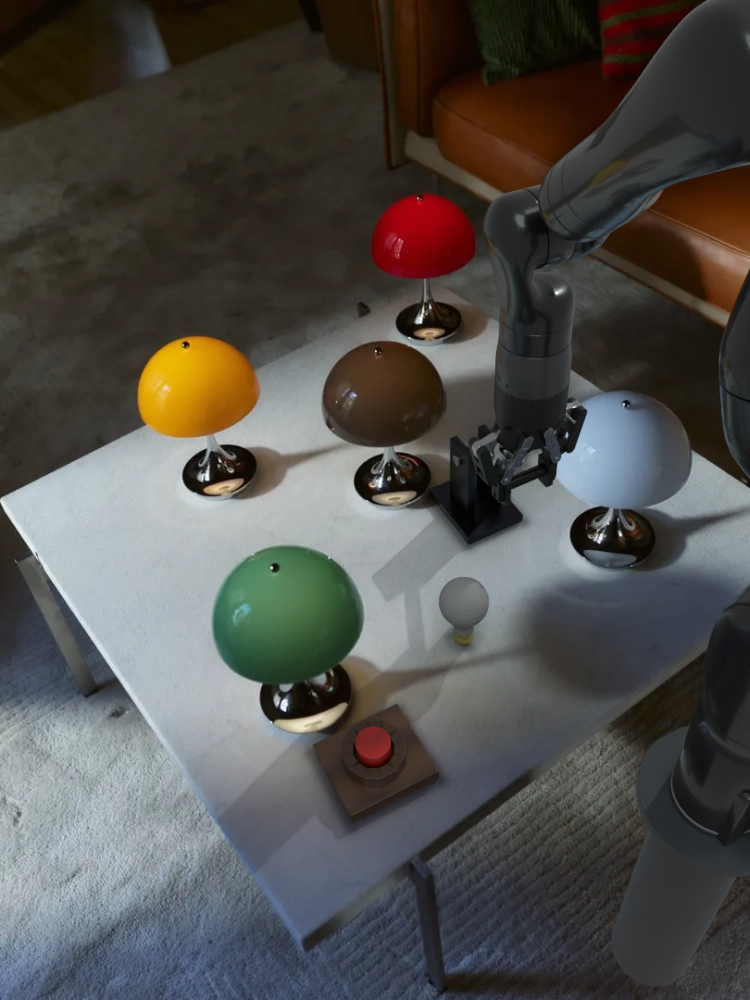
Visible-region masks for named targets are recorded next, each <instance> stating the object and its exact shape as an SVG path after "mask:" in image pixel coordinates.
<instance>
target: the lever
mask: <svg viewBox="0 0 750 1000" xmlns="http://www.w3.org/2000/svg"><path fill="white" fill-rule="evenodd" d="M477 438H478V437H477ZM478 439H479V438H478ZM479 440H481V439H479ZM468 441H469V440H467V441H465V442H463V443H464V444H465V445H466V446H467V448H468V449H469V446H468ZM469 450H470V449H469ZM493 460H494V458H492V462H493ZM502 468H503V469H504V468H505V465H504V463H503V466H502ZM546 474H547V470H546V467H545V466H544V465H543V464H538V463H537V465H534V466H532V467H529V468H527V469H524V468H521V467H520V468H516V469H515V471H514V474H513V476H512V478H511V482H512V487H511V491H513V490H515V489H517V488H519V487H522V486H525V485H526V484H528V483H531V482H534V481H536V480H539V479H538V478H540V477H543V476H545V475H546Z"/></svg>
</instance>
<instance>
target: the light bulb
mask: <svg viewBox="0 0 750 1000" xmlns="http://www.w3.org/2000/svg"><path fill="white" fill-rule="evenodd" d="M487 591H488V590H486V588H485V586H484V585H483V584H482V583H481V582H480V581H479V580H477V579H475V578H474V577H473V578H472V577H470V576H459V577H454V578H452V579H450V580H449V581H447V583H445V585H444V586H443V587H442V589H441V590H440V593H439V596H438V606H439V611H440V613H441V616H442V617H443V618H444V620H446V622H448V623H449V624H450V625H452V628H453V632H454V636H453V637H454V640H455V641H456V643H458V644H459V645H469V643H471V642H472V641H473V639H474V635H473V634H474V627H475V626H476V625H479V624H480V623H481V622H482V621H483V620H484V619H485V618H486V615H487V613H488V610H489V606H490V597H489V593H488V592H487Z"/></svg>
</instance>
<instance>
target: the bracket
mask: <svg viewBox="0 0 750 1000" xmlns="http://www.w3.org/2000/svg"><path fill="white" fill-rule="evenodd" d="M491 430H492V429H491V428H490V427H488V426H487V424H486V423H483V424H481V425H479V426H477V438H479V439H483V438H484V437H486V436H487V435H489V434H491ZM464 443H465V442H463V441H462V439H461V438H460V437H459V436H458V435H454V436H452V437H450V438H449V480H447V481H445V482H443V483H441V484H438V485H435V486H433V487H430V488H429V489H428V493H429V497H430V498H431V499H432V500H433V502H434V503H435V504H436V505H437V507H438V508H439V509H440V510H441V512H442V513H443V515H445V516H446V518H447V520H448V521H449V522H450V523H451V524H452V526H453V527H454V528H455V529H456V531H457V532H458V534H459V535H460V536H461V537H462V538H463V540H464V541H465V542H466V544H468V545H472V544H474V543H476V542H478V541H481V540H482V539H485V538H487V537H489V536H492V535H494V534H496V533H499V532H501V531H502V530H505V529H507V528H510V527H512V526H514V525H516V524H519V523H521V522H523V520H524V519H523V518H524V515H523V513H522V512H521V511H520V509H519V508H518V507H517V506H516V505H515V504H514V503H513V501H511V503H510V504H508V505H505V506H504V505H503V504H502V503H499V502H498V501H497V500H496V498H495V497H494V496H493V495H492V487H489V486H488V485H487V484H486V483H485V482H484V480H483V479H482V478H481V477H480V476H479V475H478V474H477V472H476V469H475V466H474V463H473V459H472V456H471V452H470V450H469V449H468V448H467V446H466V445H465V444H464ZM494 449H495V447H494ZM493 454H494V455H495V453H494V452H493Z"/></svg>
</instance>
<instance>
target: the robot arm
mask: <svg viewBox="0 0 750 1000" xmlns="http://www.w3.org/2000/svg"><path fill="white" fill-rule="evenodd" d="M743 166H750V0H705V1H703V2H702V3H701V4H699V5H697V6H696V7H694V8H693V9H692V10H691V11H690V12H689V13H688V14H686V15H685V17H684V18H682V20H681V21H680V22H679V23H678V24H677V25H676V26H675V28H673V30H672V31H671V32H670V33H669V35H668V36H667V37H666V39H665V40H664V41H663V43H662V44H661V45H660V47H659V48H658V50H657V51H656V52H655V54H654V55H653V57H652V58H651V60H650V61H649V63H647V65H646V67H645V68H644V70H643V71H642V72H641V74H640V76H638V78H637V80H636V81H635V83H634V84H633V85H632V87H631V88H630V89H629V91H628V92H627V93H626V94H625V96H624V97H623V98H622V100H621V101H620V102H619V104H618V105H617V106H616V108H615V109H614V110H613V112H612V113H611V114H610V115H609V116H608V118H606V120H605V121H603V122H602V123H601V124H600V126H598V127H597V128H596V129H594V131H592V133H590V134H589V135H588V136H587V137H585V138H584V139H583V140H581V141H580V142H579V143H578V144H577V145H575V146H574V147H573V148H572V149H571V150H569V151H568V152H567V153H566V154H565V155H563V156H562V157H561V158H560V159H559V160H558V161H556V163H555V164H553V166H552V167H551V168H550V169H549V170H548V171H547V172H546V174H545V176H544V178H543V179H542V181H541V183H540V184H536V185H533V186H532V185H531V186H528V187H524V188H521V189H516V190H512V191H508V192H506V193H503V194H501V195H498V196H497V197H496V198H494V200H492V202H491V203H490V204H489V206H488V207H487V209H486V211H485V214H484V217H483V222H482V229H481V230H482V238H483V242H484V246H485V250H486V253H487V256H488V259H489V262H490V265H491V268H492V272H493V277H494V281H495V285H496V289H497V295H498V302H499V315H498V317H499V318H498V339H497V345H496V348H495V358H494V363H495V364H494V381H493V382H494V385H493V410H494V416H495V421H494V423H493V425H492V428H491V429H490V430H491V434H489V435H487V436H486V437H484V438H483V439H481V440H479V439H478V436H472V437H471V438H469V439H468V440H467V441H468V446H469V449H470V452H471V456H472V459H473V463H474V466H475V470H476V472H477V474H478V475H479V476H480V477H481V478H482V479H483V480H484V482H485V483H486V484H487V485H488V486H489V487H492V495H493V496H494V497H495V498H496V500H497V501H498V502H499V503H502V504H503V505H504V506H505V505H508V504H510V503H511V502H512V490H511V487H512V482H511V478H512V476H513V474H514V471H515V469H516V468H521V466H522V461H523V459H524V460H525V457H526V455H528V454H529V453H531V452H532V451H536V450H540V451H541V452H540V453H538V455H537V465H538V464H543V465H544V466H545V467H546V470H547V474H546V475H545V476H543V477H540V478H538V479H537V480H538V481H539V482H540V483H541V485H543V486H544V487H545V488H549V487H551V486H553V485H554V480H555V479H556V477H557V473H558V463H559V462H560V461H561V460H562V455H564V454H565V453H566V454H571V453H573V452H574V451H575V449H576V448H577V447H576V446H577V444H578V441H579V438H580V436H581V432H582V429H583V426H584V424H585V421H586V417H587V415H588V409H586V407H584V405H583V404H582V403H580V402H579V401H578V400H577V399H576V398H575V397H573V396H570V397H569V388H570V381H571V371H572V361H573V360H572V359H573V350H572V349H573V347H572V336H573V325H574V317H575V309H576V294H575V290H574V288H573V285H572V284H571V282H569V280H568V279H566V278H565V277H563V276H562V275H560V274H557V273H553V272H550V271H542V270H541V271H539V270H540V269H545V268H548V267H551V266H552V267H553V266H555V265H559V264H562V263H566V262H570V261H573V260H576V259H579V258H582V257H585V256H587V255H589V254H591V253H593V252H595V251H597V250H599V248H601V247H602V246H603V244H604V243H605V241H606V240H607V239H608V238H609V236H610V235H611V233H614V232H615V231H617V230H618V229H621V228H622V227H623V226H625V225H627V224H628V223H630V222H632V221H634V220H635V219H636V218H638V217H640V216H641V215H642V214H644V213H645V212H646V211H647V210H649V209H650V208H651V207H652V206H653V205H654V204H655V203H656V202H657V200H658V199H659V198H660V196H661V195H662V194H663V192H664V190H665V189H666V188H668V187H671V186H673V185H675V184H678V183H681V182H684V181H687V180H691V179H695V178H698V177H703V176H707V175H711V174H714V173H717V172H723V171H725V170H729V169H734V168H739V167H743ZM718 382H719V383H718V385H719V386H718V387H719V396H720V397H719V398H720V411H721V423H722V429H723V434H724V439H725V442H726V445H727V448H728V450H729V452H730V454H731V456H732V457H733V459H734V460H735V462H736V463H737V465H738V466H739V467H740V468H741V470H742V471H743V472H744V473H745V475H746V476H747V477H748V478H749V479H750V268H749V269H748V271H747V274H746V275H745V277H744V280H743V282H742V284H741V286H740V289H739V292H738V293H737V296H736V299H735V301H734V303H733V306H732V308H731V310H730V314H729V316H728V319H727V322H726V325H725V328H724V331H723V334H722V338H721V340H720V345H719V350H718ZM566 435H567V436H566ZM494 447H495V449H494ZM493 452H494V453H495V455H494V454H493ZM512 454H513V455H512ZM492 458H494V460H493V462H492ZM503 463H504V465H505V468H504V469H503V468H502V466H503ZM701 681H702V685H703V687H702V691H701V693H700V696H699V699H698V701H697V704H696V707H695V709H694V713H693V715H692V718H691V722H690V724H689V725H688V726H689V729H688V732H687V735H686V738H685V740H684V743H683V746H682V749H681V751H680V754H679V757H678V760H677V763H676V764H675V766H674V768H673V771H672V774H671V777H670V785H669V787H670V795H671V799H672V801H673V804H674V806H675V808H676V809H677V811H678V812H679V814H680V815H681V816H682V818H683V819H684V820H685V821H686V822H687V823H689V824H690V825H691V826H692V827H694V828H695V829H697V830H698V831H700V832H702V833H704V834H706V835H709V836H712V837H716V838H717V839H718V840H719V841H720V842H721V843H722V844H723V845H724V846H728V845H730V844H732V843H733V842H735V841H737V840H738V839H740V838H742V837H743V836H746V835H748V834H750V582H748V584H746V586H745V587H743V589H742V590H740V592H738V593H737V595H736V596H735V597H733V598H732V599H731V600H730V601H729V602H728V603H727V604H726V605H725V606H724V608H723V609H722V610H721V611H720V613H719V614H718V616H717V619H716V620H715V622H714V625H713V626H712V630H711V633H710V637H709V639H708V643H707V646H706V651H705V654H704V659H703V661H702V666H701Z"/></svg>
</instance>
